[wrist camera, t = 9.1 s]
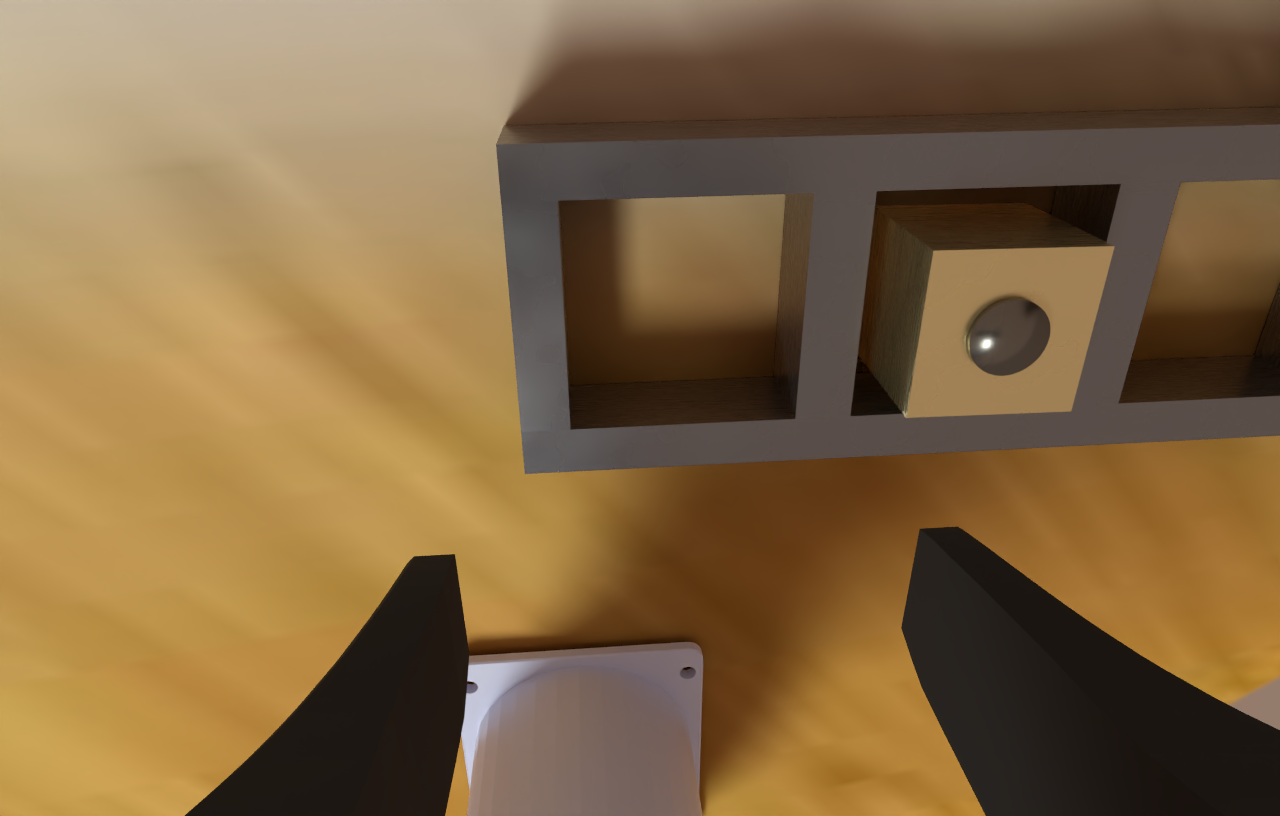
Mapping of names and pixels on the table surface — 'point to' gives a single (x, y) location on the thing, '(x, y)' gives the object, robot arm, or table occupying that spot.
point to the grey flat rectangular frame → (837, 271)
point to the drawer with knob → (979, 308)
